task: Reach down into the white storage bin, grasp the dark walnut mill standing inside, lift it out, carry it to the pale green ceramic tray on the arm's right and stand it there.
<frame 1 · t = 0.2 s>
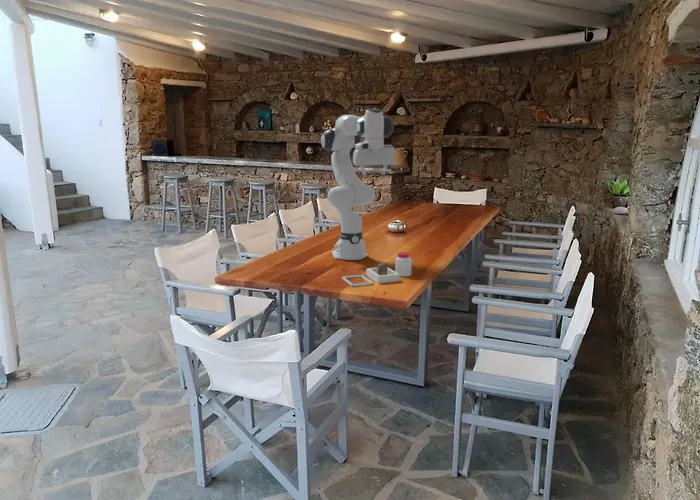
hand: (373, 174, 251), 47 cm above the table, fingers open, 8 cm apart
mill: (382, 277, 249), point 1 cm above the table, touching white storage bin
tray: (357, 282, 244), on the table
pill bottle: (403, 275, 256), on the table
white storage bin: (382, 279, 249), on the table
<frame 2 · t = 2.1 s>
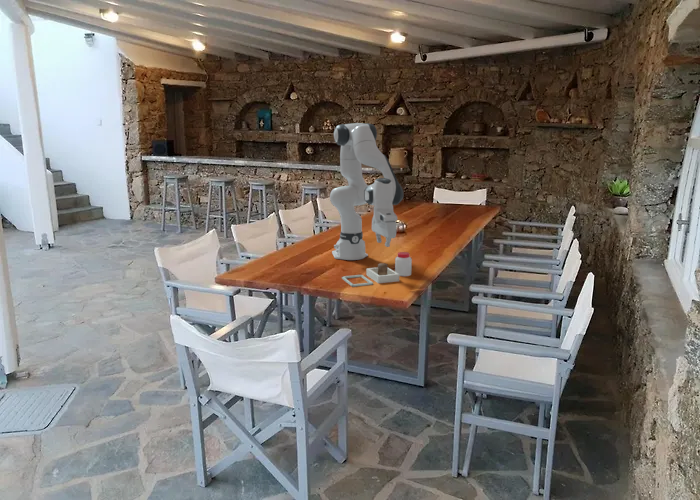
hand: (383, 244, 245), 17 cm above the table, fingers open, 8 cm apart
nothing on the table moved.
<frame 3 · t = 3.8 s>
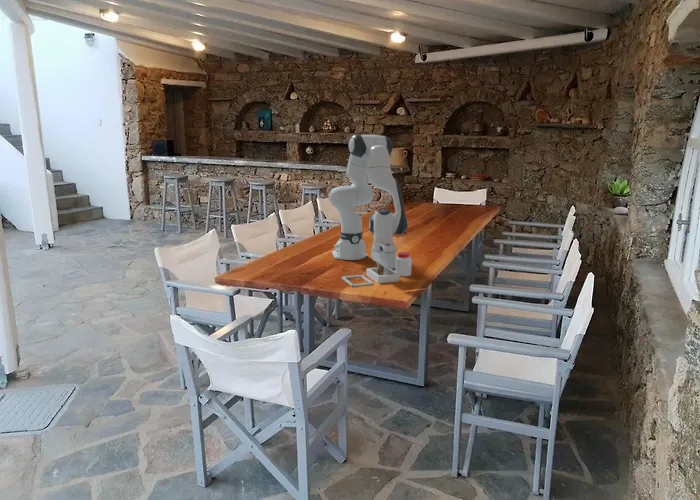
hand: (382, 273, 248), 3 cm above the table, fingers closed on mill, 4 cm apart
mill: (382, 277, 249), point 1 cm above the table, touching gripper, white storage bin
everything else where it was.
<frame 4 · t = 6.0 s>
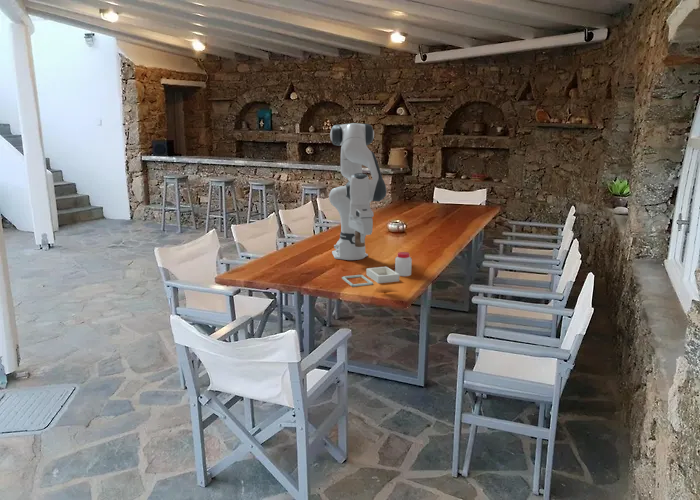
hand: (359, 241, 239), 19 cm above the table, fingers closed on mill, 4 cm apart
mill: (359, 245, 240), point 17 cm above the table, touching gripper
everything else where it was.
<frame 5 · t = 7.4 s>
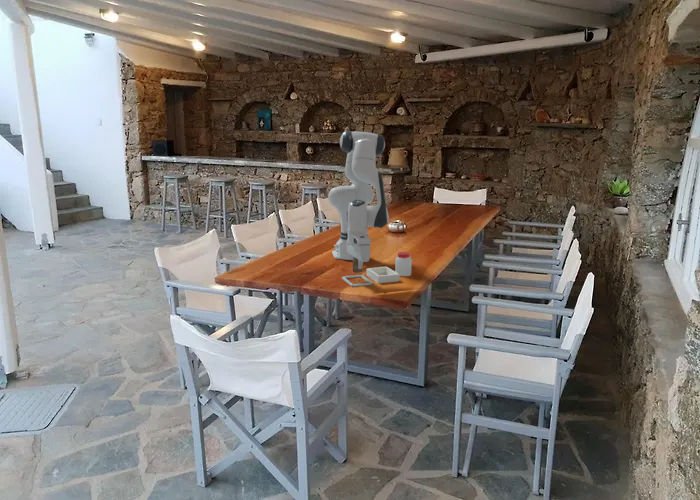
hand: (357, 266, 242), 8 cm above the table, fingers closed on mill, 4 cm apart
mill: (357, 271, 242), point 6 cm above the table, touching gripper
everything else where it was.
when the fingers open (4 cm above the table, at t = 8.2 s): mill drops 2 cm, resting on tray.
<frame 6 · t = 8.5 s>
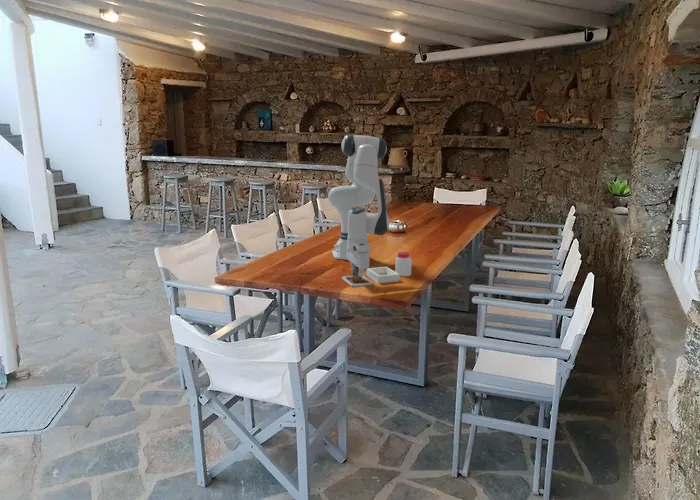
hand: (357, 273, 243), 4 cm above the table, fingers open, 7 cm apart
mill: (357, 281, 244), point 1 cm above the table, touching tray
everything else where it was.
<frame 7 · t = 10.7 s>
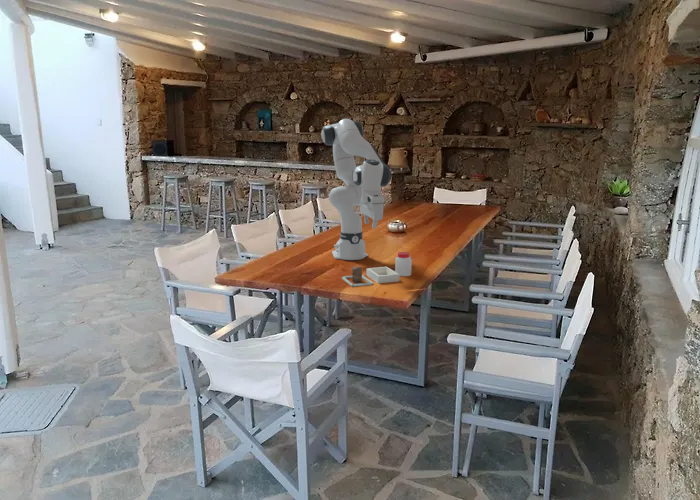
hand: (370, 225, 247), 25 cm above the table, fingers open, 8 cm apart
nothing on the table moved.
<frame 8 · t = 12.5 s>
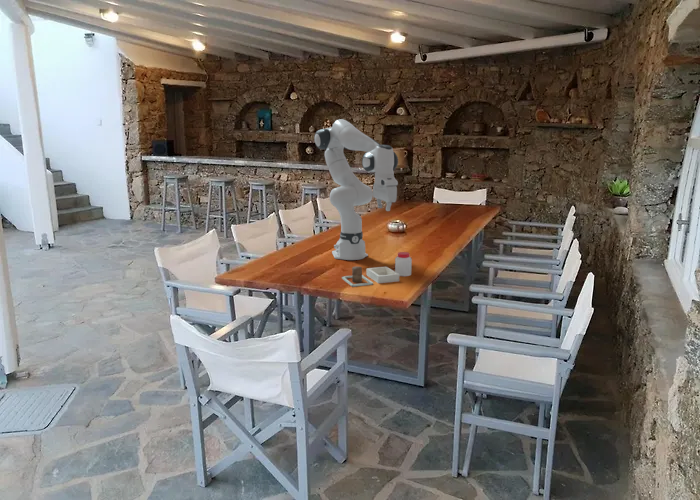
hand: (383, 209, 253), 31 cm above the table, fingers open, 8 cm apart
nothing on the table moved.
at the end: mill inside the target area on the tray (0.1 cm from its centre), point 0.7 cm above the tray's base; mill tilted 2°; the gripper is holding nothing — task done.
